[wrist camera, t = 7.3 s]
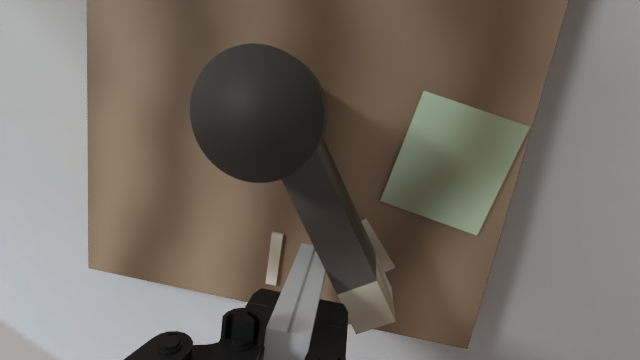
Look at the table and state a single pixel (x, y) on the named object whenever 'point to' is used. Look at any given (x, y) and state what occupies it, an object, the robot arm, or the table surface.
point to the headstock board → (340, 137)
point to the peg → (290, 162)
